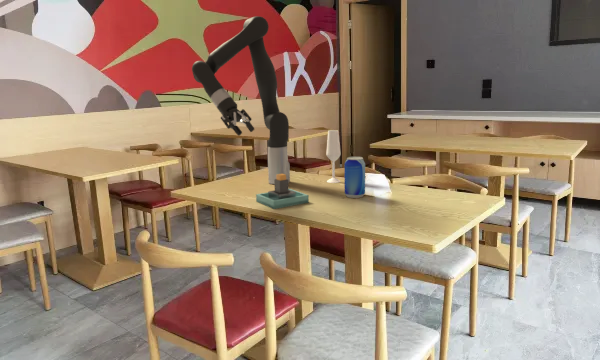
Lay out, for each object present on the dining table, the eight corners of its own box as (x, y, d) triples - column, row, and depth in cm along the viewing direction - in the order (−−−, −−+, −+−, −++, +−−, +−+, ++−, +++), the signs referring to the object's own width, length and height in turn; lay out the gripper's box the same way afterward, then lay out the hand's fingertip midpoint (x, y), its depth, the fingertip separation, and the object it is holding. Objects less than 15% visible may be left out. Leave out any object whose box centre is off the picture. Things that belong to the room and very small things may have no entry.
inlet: (285, 195, 201) (285, 188, 200) (296, 199, 194) (295, 192, 194) (268, 198, 197) (268, 191, 196) (278, 202, 190) (278, 195, 189)
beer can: (341, 197, 201) (341, 159, 198) (349, 192, 208) (349, 155, 205) (360, 199, 197) (360, 160, 194) (367, 194, 204) (368, 156, 201)
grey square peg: (283, 197, 198) (282, 173, 196) (288, 199, 195) (288, 174, 193) (275, 198, 196) (274, 174, 194) (280, 200, 193) (279, 176, 190)
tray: (290, 195, 206) (289, 188, 205) (308, 202, 194) (308, 195, 193) (256, 201, 197) (256, 194, 196) (273, 209, 186) (273, 201, 185)
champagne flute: (339, 183, 227) (339, 131, 222) (325, 182, 228) (325, 131, 223) (341, 180, 233) (341, 129, 228) (327, 179, 235) (327, 129, 230)
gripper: (217, 98, 196) (241, 130, 194) (239, 94, 207) (261, 124, 206) (208, 110, 200) (231, 141, 198) (229, 105, 212) (251, 134, 210)
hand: (246, 132), depth 202 cm, fingers open, 8 cm apart
